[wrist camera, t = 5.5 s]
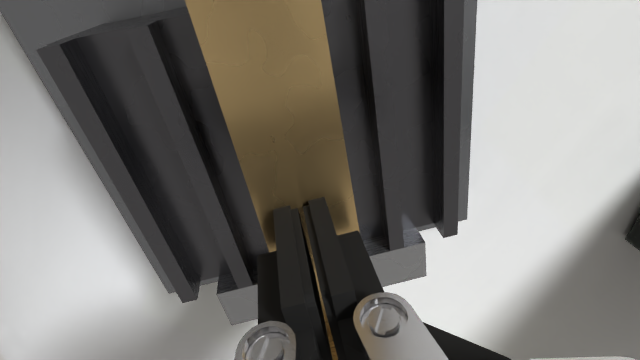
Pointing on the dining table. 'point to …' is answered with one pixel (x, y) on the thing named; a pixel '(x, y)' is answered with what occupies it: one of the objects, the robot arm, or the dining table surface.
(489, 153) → the dining table surface
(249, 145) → the strap
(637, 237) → the router box
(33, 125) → the dining table surface
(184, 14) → the heatsink base
